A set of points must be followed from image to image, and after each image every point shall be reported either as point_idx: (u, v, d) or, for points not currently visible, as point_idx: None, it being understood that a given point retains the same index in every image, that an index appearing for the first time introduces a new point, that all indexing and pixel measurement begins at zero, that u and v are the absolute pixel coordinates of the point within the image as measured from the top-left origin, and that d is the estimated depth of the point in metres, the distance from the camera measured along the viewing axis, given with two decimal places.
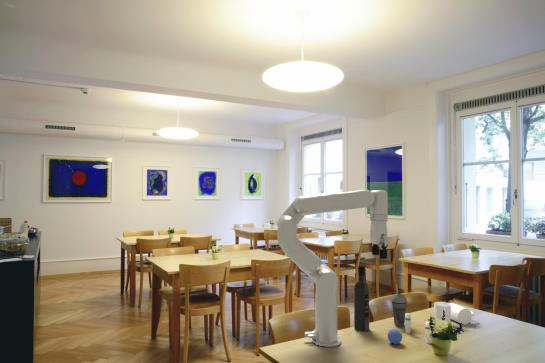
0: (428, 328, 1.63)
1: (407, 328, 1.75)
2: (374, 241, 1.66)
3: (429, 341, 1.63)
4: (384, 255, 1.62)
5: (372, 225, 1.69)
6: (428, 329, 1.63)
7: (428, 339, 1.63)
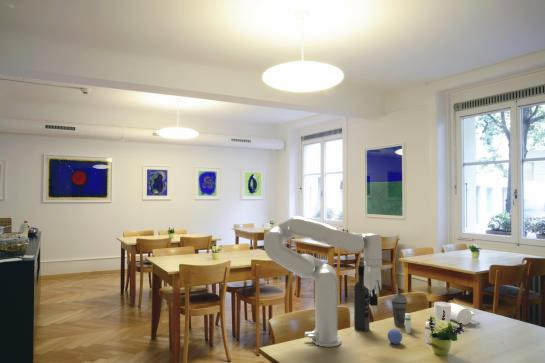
0: (428, 328, 1.63)
1: (407, 328, 1.75)
2: (368, 287, 1.61)
3: (429, 341, 1.63)
4: (374, 302, 1.62)
5: (366, 269, 1.64)
6: (428, 329, 1.63)
7: (428, 339, 1.63)
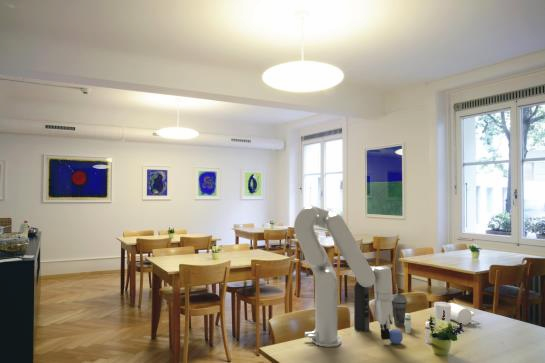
0: (428, 328, 1.63)
1: (407, 328, 1.75)
2: (379, 321, 1.61)
3: (429, 341, 1.63)
4: (386, 336, 1.61)
5: (377, 303, 1.64)
6: (428, 329, 1.63)
7: (428, 339, 1.63)
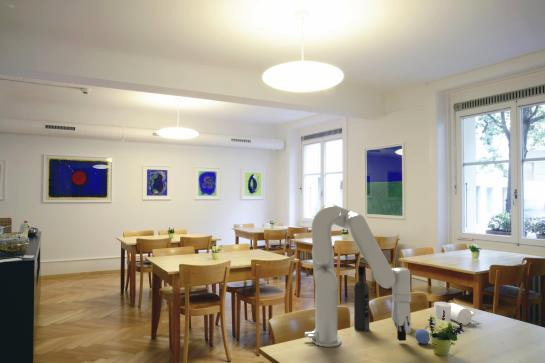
0: None
1: None
2: (396, 322, 1.62)
3: None
4: (403, 337, 1.62)
5: (394, 304, 1.64)
6: None
7: None
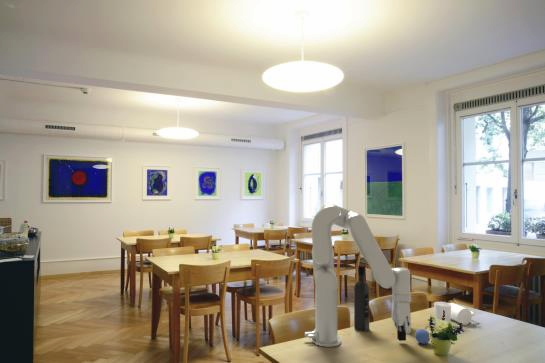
0: None
1: None
2: (396, 322, 1.62)
3: None
4: (403, 337, 1.62)
5: (394, 304, 1.64)
6: None
7: None
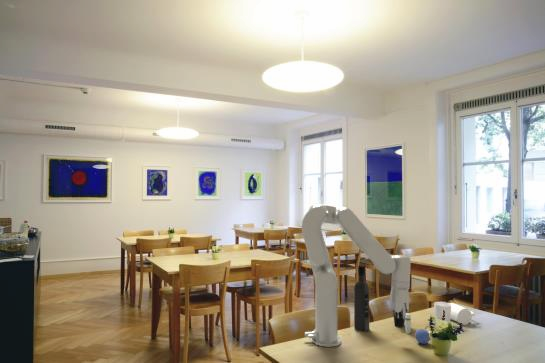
0: None
1: (407, 328, 1.75)
2: (394, 308, 1.62)
3: None
4: (400, 324, 1.62)
5: (393, 291, 1.65)
6: None
7: None
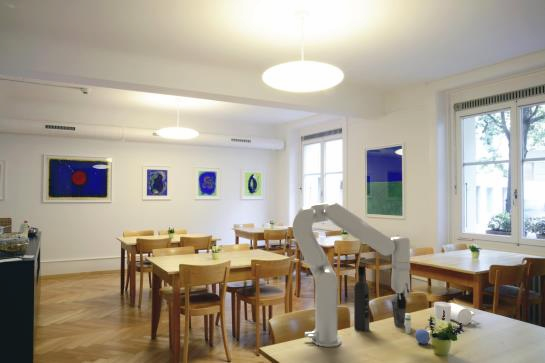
0: None
1: (407, 328, 1.75)
2: (396, 290, 1.62)
3: None
4: (403, 305, 1.62)
5: (394, 272, 1.65)
6: None
7: None
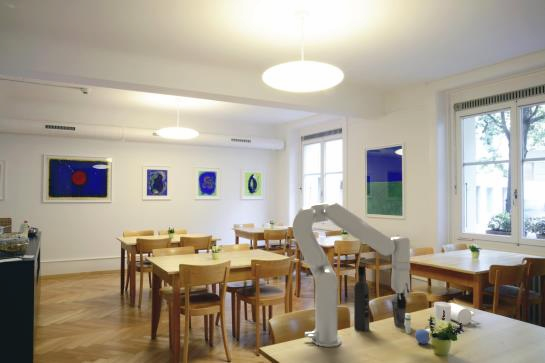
0: None
1: (407, 328, 1.75)
2: (396, 290, 1.62)
3: None
4: (403, 305, 1.62)
5: (394, 272, 1.65)
6: None
7: (426, 329, 1.73)
